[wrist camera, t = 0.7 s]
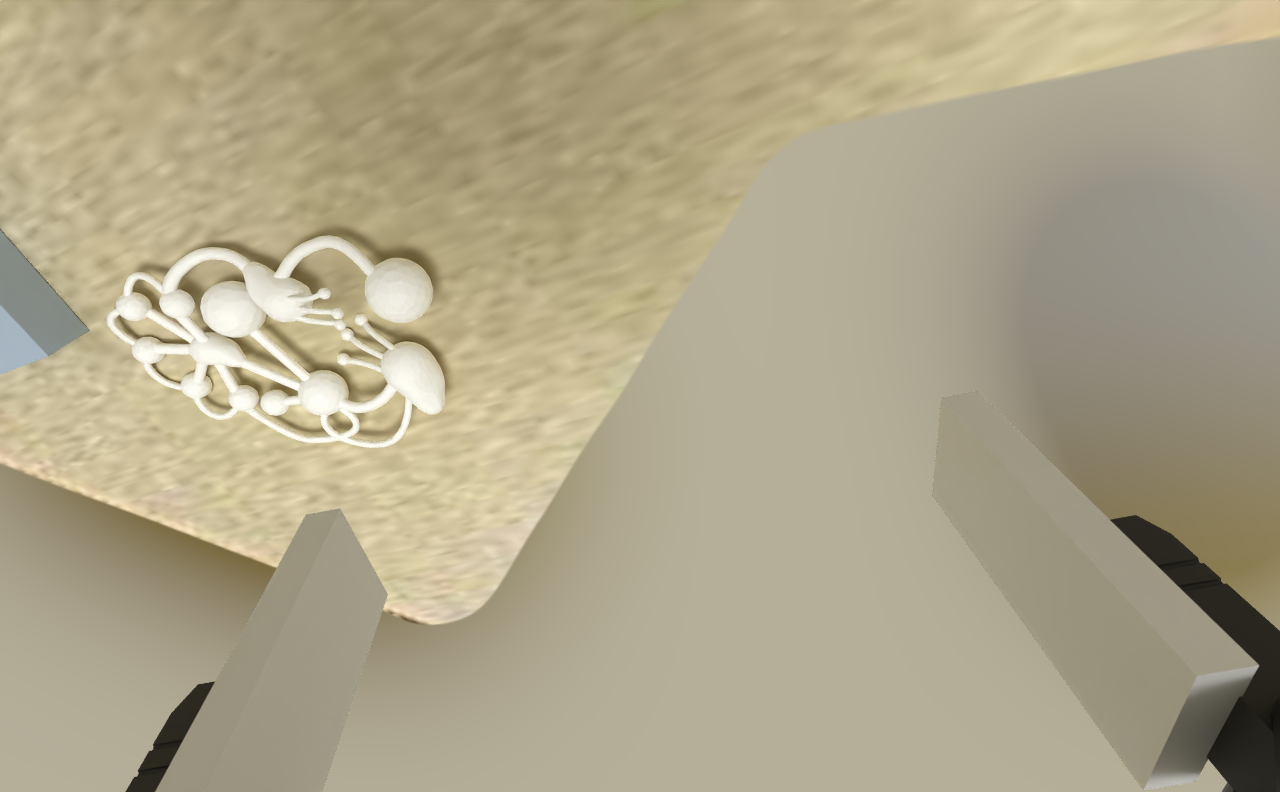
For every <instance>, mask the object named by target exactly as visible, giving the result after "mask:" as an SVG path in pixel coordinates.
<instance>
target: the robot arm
mask: <svg viewBox="0 0 1280 792" xmlns="http://www.w3.org/2000/svg"><path fill="white" fill-rule="evenodd" d="M932 496H933V497H934V499H935V500H936V502H937V503H938V504H939V506H940V507H941V509H942V510H943V511H944V513H945V514H946V515H947V517H948V518H949V520H950V521H951V523H952V524H953V525H954V527H955V528H956V529H957V531H958V532H959V534H960V535H961V537H962V538H963V539H964V541H965V542H966V543H967V545H968V546H969V548H970V549H971V551H972V552H973V553H974V555H975V556H976V557H977V559H978V560H979V562H980V563H981V565H982V566H983V567H984V569H985V570H986V571H987V573H988V574H989V575H990V577H991V578H992V579H993V581H994V583H995V584H996V585H997V587H998V588H999V590H1000V591H1001V592H1002V594H1003V595H1004V597H1005V598H1006V599H1007V601H1008V602H1009V604H1010V605H1011V606H1012V608H1013V609H1014V611H1015V612H1016V613H1017V615H1018V616H1019V618H1020V619H1021V620H1022V622H1023V623H1024V624H1025V626H1026V627H1027V629H1028V630H1029V632H1030V633H1031V634H1032V636H1033V637H1034V638H1035V640H1036V641H1037V642H1038V644H1039V646H1040V647H1041V648H1042V650H1043V651H1044V653H1045V654H1046V655H1047V657H1048V658H1049V660H1050V661H1051V662H1052V664H1053V665H1054V667H1055V668H1056V669H1057V671H1058V672H1059V673H1060V675H1061V676H1062V678H1063V679H1064V680H1065V682H1066V683H1067V685H1068V686H1069V687H1070V689H1071V690H1072V691H1073V693H1074V694H1075V696H1076V697H1077V699H1078V700H1079V701H1080V703H1081V704H1082V706H1083V707H1084V708H1085V710H1086V711H1087V713H1088V714H1089V715H1090V717H1091V718H1092V719H1093V721H1094V722H1095V724H1096V725H1097V727H1098V728H1099V729H1100V731H1101V732H1102V733H1103V735H1104V736H1105V738H1106V739H1107V740H1108V742H1109V743H1110V745H1111V746H1112V748H1113V749H1114V750H1115V752H1116V753H1117V754H1118V756H1119V757H1120V758H1121V760H1122V761H1123V763H1124V764H1125V766H1126V767H1127V768H1128V770H1129V771H1130V773H1131V774H1132V775H1133V777H1134V778H1135V780H1136V781H1137V782H1138V784H1139V785H1140V786H1141V788H1142V789H1143V790H1148V789H1155V788H1160V787H1167V786H1172V785H1178V784H1184V783H1189V782H1196V780H1197V778H1198V776H1199V775H1200V773H1201V771H1202V769H1203V767H1204V765H1205V764H1206V762H1207V760H1208V759H1209V760H1210V762H1211V763H1212V764H1213V765H1214V766H1215V768H1216V769H1217V770H1218V771H1219V772H1220V774H1221V775H1222V776H1223V777H1224V778H1225V780H1226V781H1227V784H1226V786H1225V788H1224V789H1223V791H1222V792H1280V631H1279V630H1278V629H1277V628H1276V627H1275V626H1274V625H1273V624H1271V623H1270V622H1269V621H1268V620H1267V619H1266V618H1265V617H1263V616H1262V615H1261V614H1260V613H1259V612H1258V611H1257V610H1256V609H1255V608H1253V607H1252V606H1251V605H1250V604H1249V603H1248V602H1247V601H1245V600H1244V599H1243V598H1242V597H1241V596H1240V595H1239V594H1238V593H1237V592H1236V591H1234V590H1233V589H1232V588H1231V587H1230V586H1229V585H1228V584H1223V583H1222V582H1221V578H1220V577H1219V576H1218V575H1217V574H1215V573H1214V572H1213V571H1212V570H1211V569H1210V568H1209V567H1208V566H1207V565H1205V564H1204V563H1200V562H1199V560H1198V557H1196V556H1195V555H1194V554H1193V553H1192V552H1191V551H1190V550H1189V549H1188V548H1186V547H1185V546H1184V545H1183V544H1182V543H1181V542H1180V541H1179V540H1177V539H1176V538H1175V537H1174V536H1173V535H1172V534H1170V533H1168V532H1167V531H1164V530H1163V529H1161V528H1159V527H1157V526H1155V525H1154V524H1151V523H1150V522H1148V521H1146V520H1144V519H1142V518H1140V517H1138V516H1136V515H1134V516H1128V517H1123V518H1118V519H1112V520H1109V519H1108V518H1107V517H1106V516H1105V515H1104V514H1103V513H1102V512H1101V511H1100V510H1099V509H1098V508H1097V507H1096V506H1095V505H1094V504H1093V503H1092V502H1091V501H1090V500H1089V499H1088V498H1087V497H1086V496H1085V495H1084V494H1083V493H1081V492H1080V490H1078V489H1077V488H1076V487H1075V486H1074V485H1073V484H1072V483H1071V482H1070V481H1069V480H1068V479H1067V478H1066V477H1065V476H1064V475H1063V474H1062V473H1061V472H1060V471H1059V470H1058V469H1057V468H1056V467H1055V466H1054V465H1053V464H1052V463H1051V462H1050V461H1049V460H1048V459H1047V458H1045V457H1044V456H1043V455H1042V454H1041V453H1040V452H1039V451H1038V450H1037V449H1036V448H1035V447H1034V446H1033V445H1032V444H1031V443H1030V442H1029V441H1028V440H1027V439H1026V438H1025V437H1024V436H1023V435H1022V434H1021V433H1020V432H1019V431H1018V430H1017V429H1016V428H1015V427H1014V426H1013V425H1011V424H1010V422H1009V421H1008V420H1006V419H1005V418H1004V417H1003V416H1002V415H1001V414H1000V413H999V412H998V411H997V410H996V409H995V408H994V407H993V406H992V405H991V404H990V403H989V402H988V401H987V400H986V399H985V398H984V397H983V396H982V395H981V394H980V393H979V392H977V391H975V392H970V393H964V394H959V395H953V396H948V397H943V398H941V408H940V418H939V429H938V439H937V450H936V461H935V472H934V483H933V494H932ZM387 595H388V594H387V592H386V590H385V588H384V586H383V585H382V583H381V581H380V579H379V577H378V576H377V574H376V572H375V570H374V568H373V567H372V565H371V563H370V561H369V559H368V558H367V556H366V554H365V552H364V550H363V549H362V547H361V545H360V543H359V541H358V540H357V538H356V536H355V534H354V532H353V531H352V529H351V527H350V525H349V523H348V522H347V520H346V518H345V516H344V514H343V513H342V511H341V509H335V510H329V511H324V512H319V513H313V514H308V515H306V516H305V518H304V519H303V521H302V523H301V525H300V527H299V529H298V530H297V532H296V534H295V536H294V538H293V540H292V541H291V543H290V545H289V547H288V549H287V551H286V552H285V554H284V556H283V558H282V560H281V562H280V563H279V565H278V567H277V569H276V571H275V573H274V574H273V576H272V578H271V580H270V582H269V584H268V586H267V588H266V589H265V591H264V593H263V595H262V597H261V598H260V600H259V602H258V604H257V606H256V608H255V610H254V611H253V613H252V615H251V617H250V619H249V620H248V622H247V624H246V626H245V628H244V630H243V631H242V633H241V635H240V637H239V639H238V641H237V642H236V644H235V646H234V648H233V650H232V652H231V654H230V655H229V657H228V659H227V661H226V663H225V665H224V667H223V668H222V670H221V672H220V674H219V676H218V678H217V679H216V681H215V682H209V683H204V684H198V685H197V686H196V687H195V688H194V689H193V690H192V692H191V693H190V694H189V695H188V696H187V697H186V698H185V699H184V700H183V701H182V702H181V703H180V704H179V706H178V707H177V708H176V709H175V710H174V711H173V712H172V713H171V715H170V716H169V718H168V720H167V722H166V723H165V725H164V727H163V728H162V730H161V732H160V733H159V735H158V737H157V739H156V740H155V742H154V744H153V746H154V748H153V750H152V751H149V752H148V754H147V756H146V758H145V759H144V761H143V763H142V764H141V766H140V768H139V770H138V772H139V774H138V776H137V777H134V778H133V780H132V782H131V784H130V785H129V787H128V789H127V790H126V792H322V791H323V788H324V785H325V782H326V779H327V776H328V773H329V770H330V767H331V763H332V761H333V758H334V755H335V752H336V749H337V746H338V743H339V739H340V737H341V733H342V730H343V728H344V725H345V722H346V719H347V716H348V712H349V710H350V707H351V704H352V700H353V697H354V695H355V691H356V688H357V685H358V682H359V679H360V676H361V673H362V670H363V667H364V664H365V661H366V658H367V655H368V652H369V649H370V646H371V643H372V640H373V637H374V634H375V631H376V628H377V625H378V622H379V619H380V616H381V613H382V610H383V607H384V604H385V601H386V598H387Z"/></svg>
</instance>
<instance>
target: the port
mask: <svg viewBox="0 0 1280 792" xmlns="http://www.w3.org/2000/svg"><path fill="white" fill-rule="evenodd" d="M88 331H89V330H88V328H87V327H86V326H85V325H84V324H83V323H82V322H81V321H80V319H79V318H78V317H77V316H76V315H75V314H74V313H73V311H72V310H71V309H70V308H69V307H68V306H67V305H66V304H65V302H64V301H63V300H62V299H61V298H60V297H59V296H58V294H57V293H56V292H55V291H54V290H53V289H52V288H51V287H50V285H49V284H48V283H47V282H46V281H45V280H44V279H43V278H42V276H41V275H40V274H39V273H38V272H37V271H36V270H35V268H34V267H33V266H32V265H31V264H30V263H29V262H28V261H27V259H26V258H25V257H24V256H23V255H22V254H21V253H20V251H19V250H18V249H17V248H16V247H15V246H14V245H13V244H12V242H11V241H10V240H9V239H8V238H7V237H6V236H5V235H4V233H3V232H2V231H1V230H0V374H3V373H5V372H8V371H10V370H13V369H16V368H18V367H21V366H24V365H26V364H29V363H31V362H34V361H37V360H39V359H42V358H45V357H47V356H49V355H51V354H53V353H54V352H56V351H57V350H59V349H60V348H62V347H64V346H65V345H67V344H68V343H70V342H72V341H73V340H75V339H76V338H78V337H80V336H81V335H83V334H84V333H86V332H88Z"/></svg>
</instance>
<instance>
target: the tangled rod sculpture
mask: <svg viewBox="0 0 1280 792" xmlns="http://www.w3.org/2000/svg"><path fill="white" fill-rule="evenodd" d="M326 248H333V249H337V250H339V251H340V252H342V253H344V254H345V255H347V256H348V257H349V258H350V259H351V260H353V261H354V262H355V263H356V264H357V266H358V267H359V268H360V269H361V270H362V271H363V272H364V273H365V274H366V275H367V278H366V281H365V287H364V288H365V296H366V300H367V302H368V304H369V306H370V307H371V308H372V310H373V311H374V312H375V313H376V314H377V315H379V316H380V317H381V318H383V319H386V320H388V321H391V322H395V323H407V322H411V321H414V320H416V319H418V318H420V317H421V316H422V315H423V314H424V313H425V312H426V311H427V309H428V308H429V306H430V305H431V301H432V298H433V287H432V283H431V280H430V278H429V276H428V275H427V273H426V272H425V270H424V269H423V268H422V267H421V266H419V265H418V264H416V263H415V262H413V261H411V260H408V259H403V258H390V259H386V260H385V261H383V262H381V263H379V264H376V265H375V266H374V265H373V264H372V262H371V261H370V260H369V259H368V258H367V257H366V256H365V255H364V254H363V253H362V252H361V251H360V250H359V249H358V248H356V247H355V246H354V245H353V244H351V243H350V242H348V241H346V240H344V239H342V238H340V237H336V236H332V235H326V236H319V237H316V238H313V239H311V240H308V241H306V242H303V243H302V244H300V245H299V246H297V247H296V248H294V249H293V250H292V251H291V252H290V253H289V254H288V255H287V256H286V257H285V258H284V259H283V261H282V262H281V264H280V266H279V268H278V269H277V271H276V272H274V271H273V270H271V269H270V268H268V267H267V266H265V265H263V264H261V263H257V262H250V261H249V260H248V259H247V258H245V257H244V256H243V255H241V254H239V253H237V252H235V251H233V250H230V249H227V248H218V247H207V248H200V249H197V250H195V251H193V252H191V253H188V254H187V255H186V256H184V257H183V258H182V259H180V260H179V261H178V262H176V263H175V264H174V265H173V266H172V268H171V269H170V270H169V271H168V273H167V274H166V276H165V278H164V281H163V284H162V283H161V282H160V281H158V280H157V279H156V278H154V277H153V276H151V275H149V274H147V273H144V272H135V273H132V274H130V275H129V277H128V279H127V280H126V282H125V284H124V293H123V295H121V296H120V297H119V298H118V299H117V302H116V308H115V309H113V310H112V311H111V312H109V314H108V316H107V318H106V322H107V325H108V326H109V328H110V329H111V330H112V332H113V333H115V334H116V335H117V336H118V337H120V338H121V339H122V340H123V341H125V342H127V343H128V344H130V345H132V354H133V356H134V357H135V358H136V359H137V360H138V361H140V362H142V363H143V365H144V368H145V369H146V371H147V372H148V374H149V375H150V376H151V377H152V378H154V379H155V380H156V381H158V382H159V383H160V384H163V385H165V386H167V387H170V388H173V389H177V390H182V391H183V393H184V394H185V395H186V396H188V397H191V398H193V400H194V401H195V403H196V405H197V406H198V408H199V409H200V410H201V411H202V412H203V413H204V414H206V415H207V416H209V417H211V418H213V419H218V420H225V419H229V418H231V417H232V416H234V415H235V414H237V412H238V411H246V412H247V413H248V414H250V415H251V416H253V417H254V418H256V419H257V420H259V421H261V422H262V423H264V424H265V425H267V426H269V427H270V428H272V429H274V430H275V431H277V432H279V433H282V434H284V435H286V436H288V437H290V438H292V439H295V440H298V441H301V442H307V443H323V442H333V441H338V440H339V441H342V442H344V443H348V444H352V445H356V446H361V447H369V448H382V447H386V446H390V445H393V444H395V443H396V442H397V441H399V440H400V439H401V438H402V437H403V435H404V434H405V432H406V430H407V427H408V425H409V422H410V418H411V414H412V404H414V405H415V406H416V407H417V408H419V409H420V410H421V411H423V412H425V413H427V414H429V415H431V414H436V413H439V412H440V411H441V410H442V409H443V408H444V405H445V380H444V375H443V372H442V370H441V367H440V365H439V364H438V362H437V361H436V359H435V357H434V356H433V355H432V354H431V352H430V351H429V350H428V349H427V348H425V347H424V346H422V345H420V344H418V343H414V342H400V343H397V344H394V345H393V344H392V343H390V342H389V341H387V340H386V339H385V338H383V337H382V336H381V335H379V334H378V333H377V332H375V331H374V330H373V329H372V327H371V326H370V325H369V323H368V318H367V316H366V315H365V314H363V313H359V314H357V315H356V316H355V322H356V324H357V325H360V326H363V327H364V328H365V330H366V331H367V332H368V333H369V334H370V335H371V336H372V337H374V338H375V339H376V340H377V341H378V342H380V343H381V344H382V345H384V346H385V347H387V348H388V349H387V350H386V351H385V353H384V354H383V353H381V352H379V351H377V350H375V349H372V348H370V347H369V346H367V345H365V344H364V343H362V342H360V341H359V340H358V339H357V338H355V337H354V333H353V331H352V330H351V329H348V328H346V322H345V321H344V320H342V319H341V318H342V317H343V315H344V313H343V310H342V309H340V308H334V309H312V305H313V300H315V299H317V298H322V299H328V298H329V297H330V295H331V292H330V291H329V289H327V288H321V289H319V291H318V293H316V294H313V295H312V293H311V291H310V289H309V287H308V286H306V285H305V284H303V283H301V282H300V281H298V280H295V279H293V278H290V275H291V273H292V271H293V270H294V268H295V267H296V266H297V264H298V263H299V262H300V261H301V260H302V259H303V258H304V257H306V256H308V255H310V254H312V253H314V252H316V251H318V250H322V249H326ZM212 259H214V260H225V261H227V262H230V263H232V264H234V265H235V266H237V267H238V268H239V269H240V270H241V271H242V272H243V276H244V279H245V283H243V282H238V281H225V282H221V283H218V284H215V285H213V286H212V287H210V288H209V289H208V290H207V291H206V292H205V294H204V295H203V297H202V300H201V305H200V309H201V313H202V316H203V319H204V321H205V323H206V324H207V325H208V326H209V327H210V328H211V329H212V330H214V331H215V332H217V333H214V332H204V331H203V330H202V329H201V328H200V327H199V326H198V325H197V324H196V323H195V322H194V321H193V320H192V319H191V318H190V317H189V315H190V314H191V313H193V311H194V309H195V303H194V299H193V298H192V296H191V295H190V294H188V293H187V292H185V291H183V290H178V289H177V288H178V285H179V283H180V281H181V278H182V277H183V276H184V275H185V274H186V273H187V272H188V271H189V270H190V269H192V268H193V267H194V266H196V265H197V264H199V263H201V262H203V261H206V260H212ZM138 279H142V280H145V281H147V282H149V283H150V284H152V285H153V286H154V287H155V288H156V289H157V290H158V291H159V292H160V293H161V294H162V296H161V298H160V301H159V305H160V308H161V310H162V311H163V312H164V313H165V314H166V315H167V316H169V317H171V318H176V319H177V320H178V321H179V322H180V323H181V324H182V325H183V326H184V327H185V328H186V329H185V328H184V327H182V326H181V325H179V324H177V323H176V322H174V321H172V320H171V319H169V318H168V317H166V316H164V315H163V314H161V313H160V312H158V311H156V310H155V309H152V305H151V302H150V301H149V299H148V298H147V297H146V296H144V295H143V294H140V293H136V292H132V290H133V286H134V284H135V282H136V281H137V280H138ZM308 313H310V314H331V315H332V316H333V318H335V319H338V320H323V319H312V318H308V317H305V316H306V315H307V314H308ZM118 315H121V316H122V317H123V318H125V319H128V320H131V321H139V320H142V319H145V318H146V317H148V318H150V319H152V320H153V321H155V322H157V323H158V324H160V325H161V326H163V327H165V328H166V329H168V330H170V331H171V332H173V333H175V334H176V335H178V336H179V337H181V338H183V339H184V340H186V341H188V342H189V343H190V344H164V343H162V342H161V341H160V340H158V339H156V338H154V337H142V338H140V339H138V340H136V339H134V338H132V337H131V336H129V335H127V334H126V333H125V332H124V331H123V330H122V329H121V328H120V327H118V326H117V324H116V322H115V319H116V317H117V316H118ZM267 315H269V316H270V317H271V318H273V319H275V320H278V321H281V322H295V321H301V322H305V323H311V324H320V325H334V326H335V328H336V329H337V330H342V331H341V333H340V336H341V337H342V339H343V340H347V341H349V340H350V341H351V342H352V343H353V344H354V345H356V346H357V347H359V348H360V349H362V350H364V351H365V352H367V353H369V354H371V355H373V356H375V357H377V358H379V359H381V361H380V362H381V366H379V365H377V364H375V363H371V362H368V361H364V360H361V359H355V358H350V357H349V355H348V354H345V353H342V354H340V355H339V356H338V357H337V361H338V363H339V364H340V365H343V366H345V365H348V364H357V365H361V366H364V367H367V368H370V369H374V370H376V371H378V372H381V373H382V374H383V376H384V378H385V379H386V381H387V382H388V383H387V385H386V386H385V388H384V390H383V391H382V392H381V393H380V394H378V395H377V396H375V397H374V398H373V399H371V400H368V401H364V402H352V401H349V400H348V395H349V391H348V386H347V384H346V382H345V380H344V379H343V378H342V377H341V376H340V375H338V374H336V373H335V372H332V371H329V370H319V371H315V372H312V373H310V374H309V373H308V372H307V371H305V370H304V369H303V368H302V367H301V366H300V365H299V364H298V363H296V362H295V361H294V360H293V359H292V358H291V357H290V356H289V355H288V354H286V353H285V352H284V351H283V350H282V349H281V348H280V347H279V346H277V345H276V344H275V343H274V342H273V341H272V340H271V339H270V338H268V337H267V336H266V335H265V334H264V333H263V332H262V331H261V330H259V328H260V327H261V326H262V325H263V323H264V322H265V319H266V316H267ZM218 333H219V334H218ZM220 334H221V335H220ZM222 335H223V336H222ZM248 335H251V336H252V337H253V338H254V339H255V340H257V341H258V342H259V343H260V344H261V345H262V346H263V347H265V348H266V349H267V350H268V351H269V352H270V353H271V354H273V355H274V356H275V357H276V358H277V359H278V360H279V361H281V362H282V363H283V364H284V365H285V366H286V367H287V368H289V369H290V370H291V371H292V372H293V373H294V374H295V375H297V376H298V377H299V378H300V379H301V380H302V381H301V382H300V381H298V380H295V379H293V378H291V377H288V376H286V375H284V374H281V373H279V372H277V371H274V370H272V369H269V368H267V367H265V366H262V365H260V364H258V363H255V362H253V361H251V360H248V359H247V358H246V356H245V354H244V353H243V351H242V350H241V348H240V347H239V345H238V344H237V343H236V342H234V341H233V340H232V339H229V338H227V337H232V338H234V337H244V336H248ZM225 336H227V337H225ZM165 354H187V355H191V356H192V358H193V359H194V360H195V361H196V362H197V364H196V369H195V372H193V373H190V374H187V375H186V376H184V378H183V379H182V381H181V384H179V383H176V382H173V381H170V380H167V379H166V378H164V377H163V376H161V375H160V374H159V373H157V372H156V370H155V369H154V368H153V366H152V365H151V364H152V363H157V362H159V361H160V360H162V359H163V357H164V356H165ZM208 365H215V367H216V368H217V370H218V372H219V374H220V375H221V377H222V379H223V380H224V382H225V384H226V386H227V387H228V389H229V391H230V393H229V403H230V405H231V406H232V407H233V408H232V409H231V410H229V411H228V412H226V413H224V414H223V413H216V412H214V411H212V410H210V409H209V408H208V407H207V406H206V405H205V404H204V402H203V401H202V399H201V398H202V397H204V396H206V395H207V394H209V393H210V391H211V389H212V382H211V380H210V378H209V377H208V376H206V371H207V367H208ZM227 366H231V367H242V368H245V369H247V370H249V371H252V372H254V373H257V374H259V375H261V376H264V377H266V378H268V379H271V380H273V381H276V382H278V383H280V384H283V385H285V386H287V387H290V388H292V389H294V390H297V391H298V396H290V397H289V396H288V395H287V394H286V393H285V392H283V391H281V390H270V391H268V392H266V393H265V394H264V395H263V396H262V398H261V402H260V403H261V407H262V409H263V410H264V411H265V412H266V413H267V414H269V415H275V416H278V415H281V414H284V413H285V412H286V411H287V410H288V409H289V407H290V405H296V404H302V406H303V407H304V408H305V409H306V410H308V411H309V412H310V413H313V414H315V415H321V417H320V422H321V424H322V427H323V429H324V430H325V431H326V432H327V433H328V434H329V435H327V436H316V437H312V436H306V435H301V434H299V433H296V432H294V431H291V430H289V429H287V428H285V427H283V426H282V425H280V424H278V423H276V422H274V421H273V420H271V419H269V418H267V417H266V416H264V415H263V414H262V413H260V412H259V411H257V410H256V409H254V407H256V405H257V404H258V402H259V395H258V392H257V391H256V390H255V389H254V388H253V387H251V386H248V385H239V386H238V384H237V382H236V381H235V379H234V377H233V375H232V374H231V372H230V370H229V368H228V367H227ZM396 391H398V392H399V393H400V394H402V395H403V396H405V397H406V400H405V411H404V416H403V420H402V424H401V426H400V428H399V430H398V432H397V433H396V434H395V435H394V436H393V437H391V438H389V439H387V440H384V441H367V440H361V439H355V438H351V436H353V435H355V434H356V433H357V432H358V431H359V428H360V423H359V419H358V417H357V416H356V415H355V414H354V413H364V412H369V411H373V410H375V409H377V408H379V407H381V406H383V405H384V404H385V403H387V402H388V401H389V400H390V399H391V398H392V397H393V395H394V394H395V393H396ZM338 411H341V412H342V413H344V414H345V415H346V416H347V417H348V418H349V419H350V420H351V421H352V423H353V426H352V428H351V429H350V430H348V431H346V432H344V433H339V432H337V431H335V430H334V429H333V428H332V427H331V425H330V424H329V423H328V416H329V415H331V414H333V413H336V412H338Z"/></svg>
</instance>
